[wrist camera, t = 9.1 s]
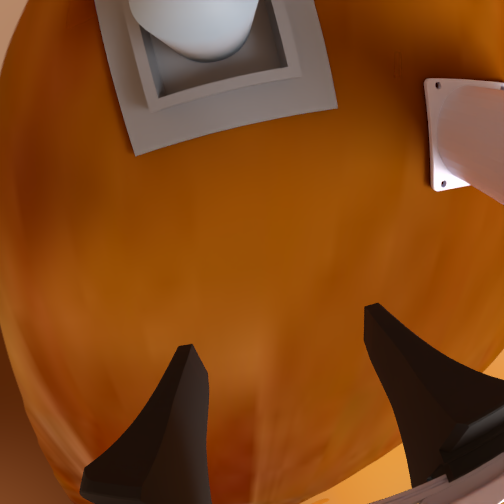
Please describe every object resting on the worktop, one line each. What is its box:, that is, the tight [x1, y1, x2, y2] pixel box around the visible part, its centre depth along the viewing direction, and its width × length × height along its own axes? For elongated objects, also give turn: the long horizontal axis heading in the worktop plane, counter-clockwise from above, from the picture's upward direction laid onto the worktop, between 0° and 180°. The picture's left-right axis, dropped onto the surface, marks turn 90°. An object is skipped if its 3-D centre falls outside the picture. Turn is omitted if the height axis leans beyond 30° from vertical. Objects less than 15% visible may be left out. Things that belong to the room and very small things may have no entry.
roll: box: [129, 0, 259, 63], centre depth 10 cm, size 4×4×7 cm
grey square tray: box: [95, 0, 338, 156], centre depth 13 cm, size 12×12×3 cm
